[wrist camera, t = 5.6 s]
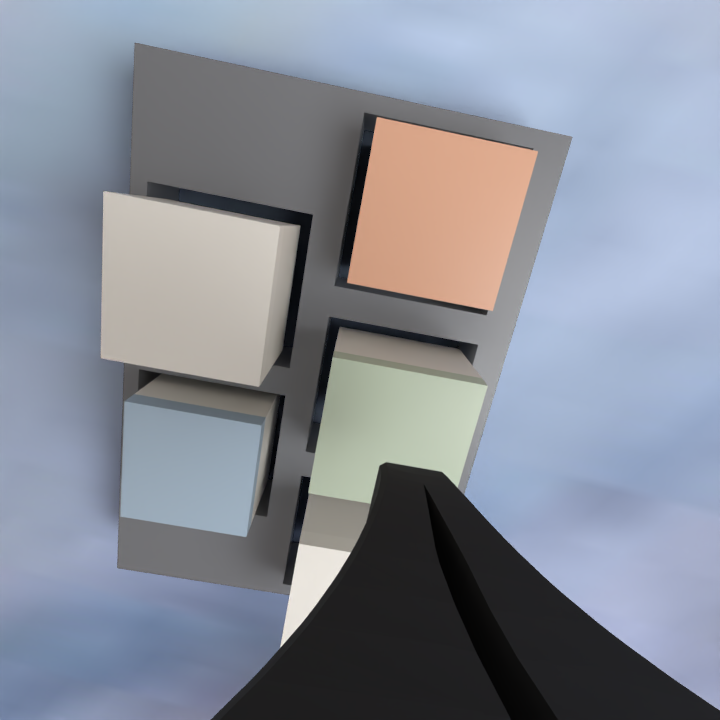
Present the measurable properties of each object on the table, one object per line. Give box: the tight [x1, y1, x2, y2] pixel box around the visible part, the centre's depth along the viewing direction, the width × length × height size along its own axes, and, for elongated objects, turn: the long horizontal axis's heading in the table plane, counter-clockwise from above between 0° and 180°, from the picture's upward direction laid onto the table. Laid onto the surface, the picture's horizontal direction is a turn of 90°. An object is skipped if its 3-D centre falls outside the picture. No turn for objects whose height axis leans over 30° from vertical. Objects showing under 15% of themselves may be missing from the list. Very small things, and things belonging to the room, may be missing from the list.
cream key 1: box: [101, 191, 301, 387], centre depth 13 cm, size 4×4×4 cm
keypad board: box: [117, 43, 572, 595], centre depth 16 cm, size 18×12×2 cm
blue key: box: [120, 373, 281, 537], centre depth 16 cm, size 4×4×4 cm
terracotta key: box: [347, 117, 538, 311], centre depth 13 cm, size 4×4×4 cm
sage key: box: [308, 327, 488, 504], centre depth 14 cm, size 4×4×4 cm
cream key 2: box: [280, 493, 370, 648], centre depth 16 cm, size 4×4×4 cm
